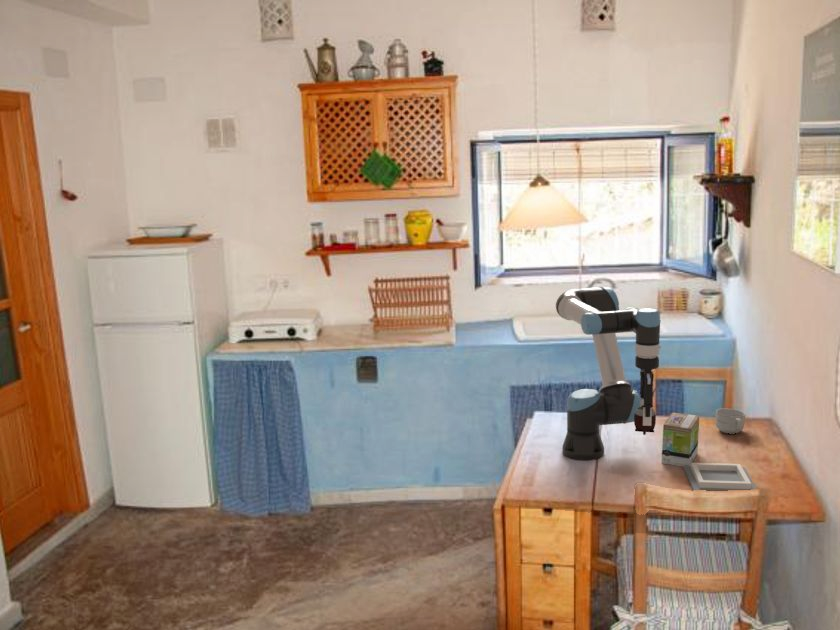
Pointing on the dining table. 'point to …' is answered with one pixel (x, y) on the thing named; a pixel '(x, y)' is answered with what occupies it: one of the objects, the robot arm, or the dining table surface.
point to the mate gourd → (639, 420)
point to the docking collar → (718, 477)
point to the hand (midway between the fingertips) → (645, 421)
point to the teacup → (730, 420)
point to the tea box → (680, 439)
